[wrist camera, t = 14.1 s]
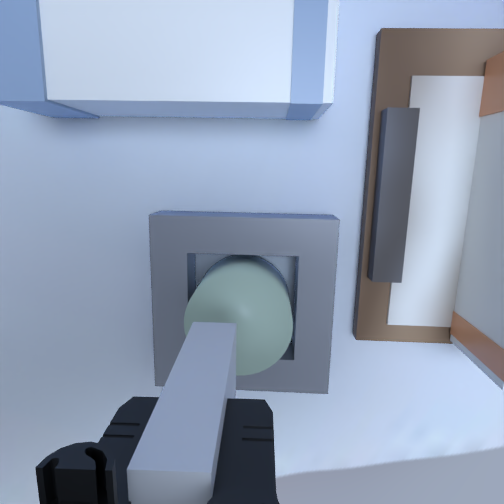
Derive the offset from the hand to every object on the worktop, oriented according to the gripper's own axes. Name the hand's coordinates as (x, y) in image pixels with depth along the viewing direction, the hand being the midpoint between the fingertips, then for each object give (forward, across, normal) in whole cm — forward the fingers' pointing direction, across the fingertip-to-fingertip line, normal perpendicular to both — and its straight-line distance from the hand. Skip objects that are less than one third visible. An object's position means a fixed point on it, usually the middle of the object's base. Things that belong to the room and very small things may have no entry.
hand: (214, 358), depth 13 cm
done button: (+7, +1, 0) cm, 7 cm away
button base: (+8, +1, 0) cm, 8 cm away
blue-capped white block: (+8, -3, +11) cm, 14 cm away
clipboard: (+8, +14, +5) cm, 16 cm away
